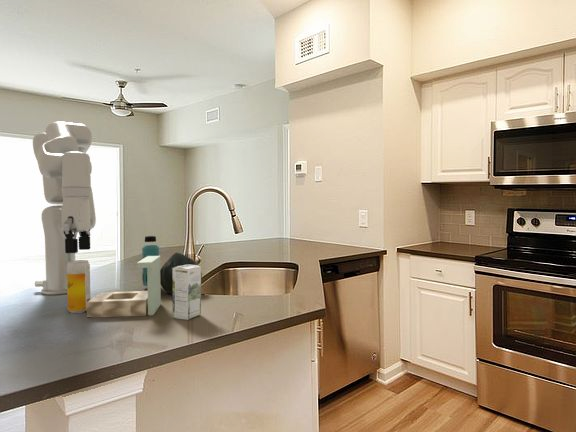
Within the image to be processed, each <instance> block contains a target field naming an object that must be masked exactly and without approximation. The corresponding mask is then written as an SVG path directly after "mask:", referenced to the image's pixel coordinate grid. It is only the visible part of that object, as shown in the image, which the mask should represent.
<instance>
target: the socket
mask: <svg viewBox="0 0 576 432" xmlns="http://www.w3.org/2000/svg"><path fill="white" fill-rule="evenodd" d="M147 315H148V290H137V291H136V290H133V291H132V290H131V291H107V292H105V291H103V292H102V291H101V292H100V293H98V294H97V295H95V296H93V297H92V298H91V300H89V301H88V302H87V311H86V318H87V317H95V318H113V317H117V318H119V317H134V316H135V317H137V316H138V317H140V316H142V317H143V316H147Z"/></svg>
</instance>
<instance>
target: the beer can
mask: <svg viewBox="0 0 576 432" xmlns="http://www.w3.org/2000/svg"><path fill="white" fill-rule="evenodd" d="M66 294H67V311H69V313H70V312H71V314H82V313H86V312H87V302H88V301H89V300H91V299H92V298H91V264H90V262H89V260H87V259H80V260H76V259H75V261H70V262H68V265H67V293H66ZM85 311H86V312H85ZM81 312H82V313H81Z"/></svg>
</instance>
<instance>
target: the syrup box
mask: <svg viewBox="0 0 576 432" xmlns="http://www.w3.org/2000/svg"><path fill="white" fill-rule="evenodd" d="M201 273H202V267H201V265H199V266H197V265H183V266H178V267H174V268H173V294H172V318H173V319H179V320H186V321H190V320H192V319H195V318H197V317H199V316H201V314H202V309H201V308H202V280H201Z"/></svg>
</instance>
